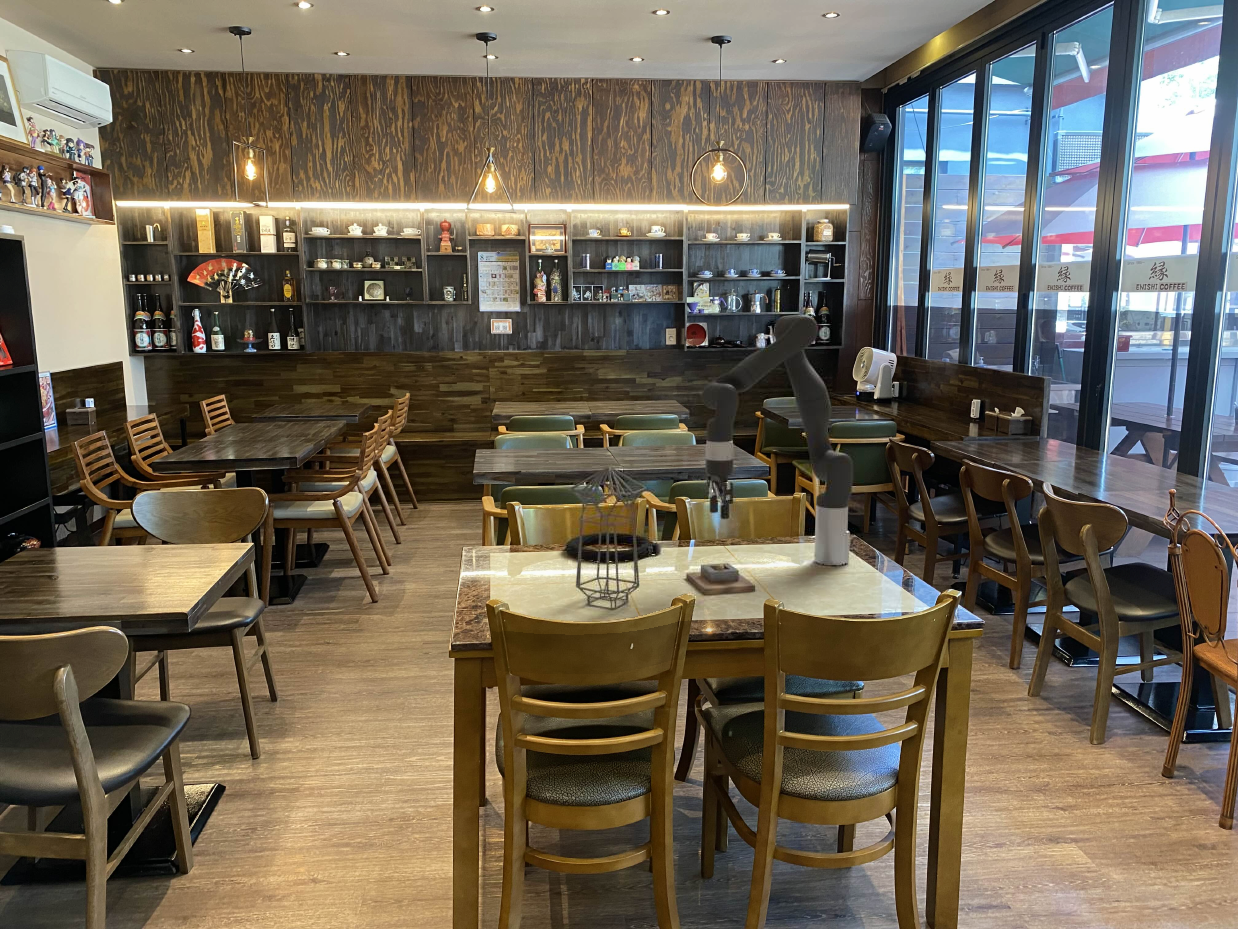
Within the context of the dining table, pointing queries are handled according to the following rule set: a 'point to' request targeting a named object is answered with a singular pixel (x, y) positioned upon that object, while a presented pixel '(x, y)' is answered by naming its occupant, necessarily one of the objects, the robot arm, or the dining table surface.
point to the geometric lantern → (592, 495)
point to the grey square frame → (719, 573)
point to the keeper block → (720, 584)
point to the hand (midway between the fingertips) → (719, 515)
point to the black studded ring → (643, 550)
